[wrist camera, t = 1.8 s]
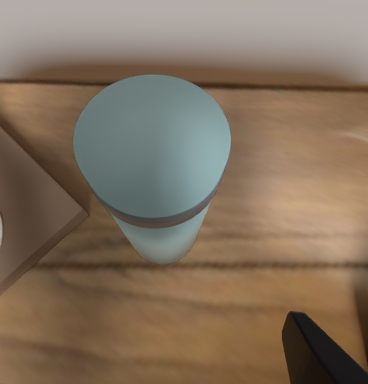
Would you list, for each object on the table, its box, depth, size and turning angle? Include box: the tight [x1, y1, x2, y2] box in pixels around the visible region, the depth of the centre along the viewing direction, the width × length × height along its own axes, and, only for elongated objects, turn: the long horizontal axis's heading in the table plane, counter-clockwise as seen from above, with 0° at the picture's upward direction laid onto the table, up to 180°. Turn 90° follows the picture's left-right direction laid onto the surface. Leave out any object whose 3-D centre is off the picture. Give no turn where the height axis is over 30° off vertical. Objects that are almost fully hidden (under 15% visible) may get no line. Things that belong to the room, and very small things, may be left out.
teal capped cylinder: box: [73, 74, 231, 264], centre depth 15 cm, size 5×5×13 cm
